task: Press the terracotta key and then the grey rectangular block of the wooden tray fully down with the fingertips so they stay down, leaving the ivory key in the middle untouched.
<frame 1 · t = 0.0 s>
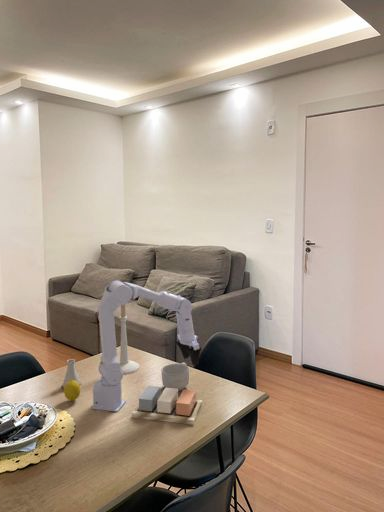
hand: (191, 361, 158), 11 cm above the table, tool pointing down, fingers open, 7 cm apart
flask: (71, 385, 161), on the table
terracotta key: (186, 402, 139), point 4 cm above the table, slide at 0.0 cm
candlestick: (124, 368, 177), on the table
ivory key: (168, 400, 140), point 4 cm above the table, slide at 0.0 cm
lemon: (72, 401, 148), on the table
teacup: (177, 386, 160), on the table
grey rectangular block: (150, 398, 142), point 4 cm above the table, slide at 0.0 cm
wooden tray: (168, 410, 141), on the table
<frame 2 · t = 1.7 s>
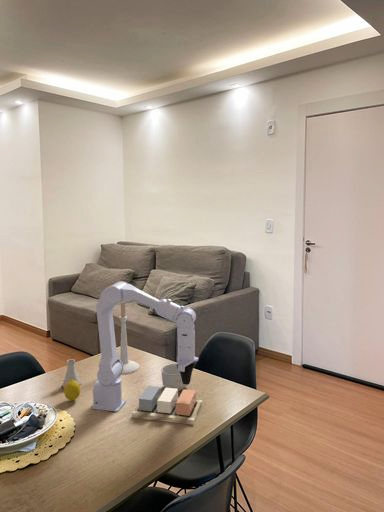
hand: (186, 383, 138), 10 cm above the table, tool pointing down, fingers closed
nothing on the table moved.
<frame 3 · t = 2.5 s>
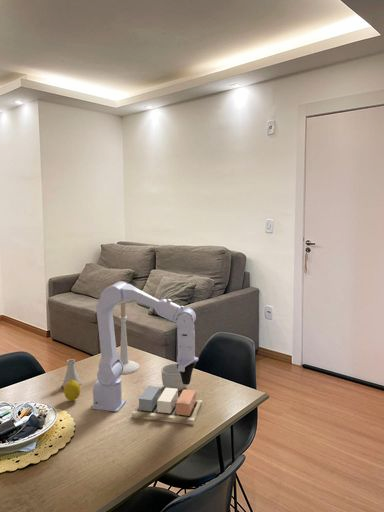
hand: (186, 383, 138), 10 cm above the table, tool pointing down, fingers closed
nothing on the table moved.
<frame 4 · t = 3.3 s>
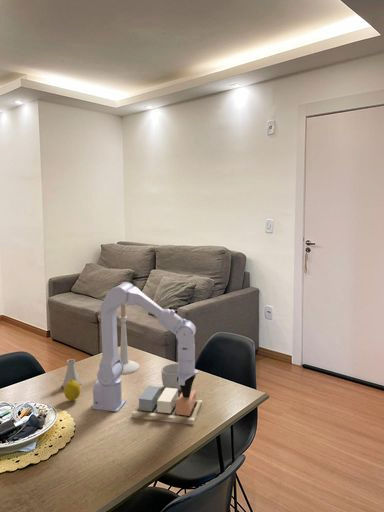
hand: (186, 396, 139), 6 cm above the table, tool pointing down, fingers closed, pressing on terracotta key
terracotta key: (186, 402, 139), point 4 cm above the table, slide at 0.0 cm, touching gripper
everything else where it was.
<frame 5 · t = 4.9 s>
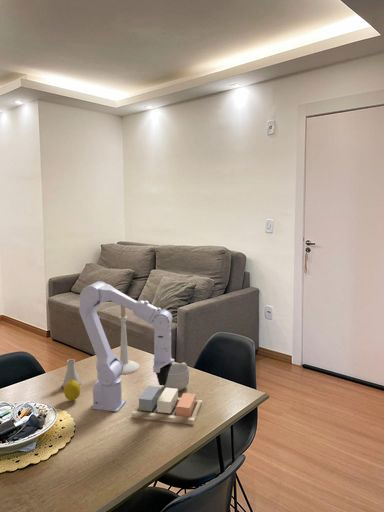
hand: (162, 384, 140), 9 cm above the table, tool pointing down, fingers closed
terracotta key: (186, 405, 139), point 2 cm above the table, slide at 1.3 cm
everything else where it was.
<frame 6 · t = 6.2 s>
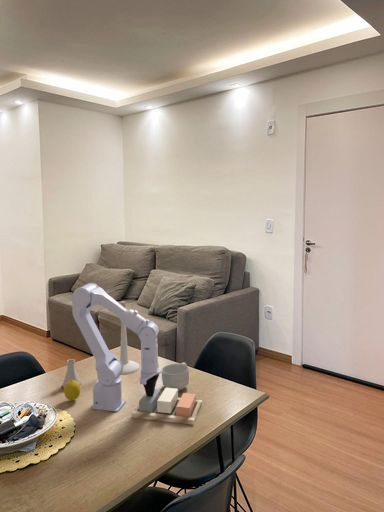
hand: (150, 395, 142), 5 cm above the table, tool pointing down, fingers closed, pressing on grey rectangular block
grey rectangular block: (150, 400, 142), point 3 cm above the table, slide at 1.0 cm, touching gripper
everything else where it was.
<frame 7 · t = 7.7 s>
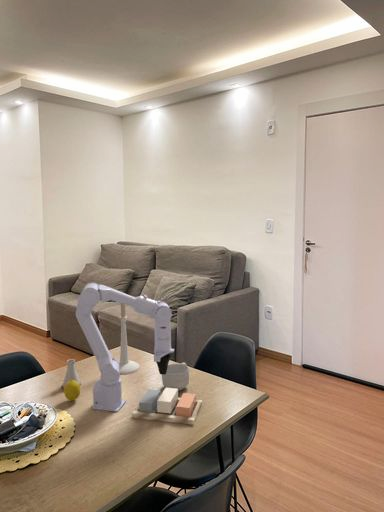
hand: (163, 373, 146), 10 cm above the table, tool pointing down, fingers closed
grey rectangular block: (150, 401, 142), point 2 cm above the table, slide at 1.3 cm
everything else where it was.
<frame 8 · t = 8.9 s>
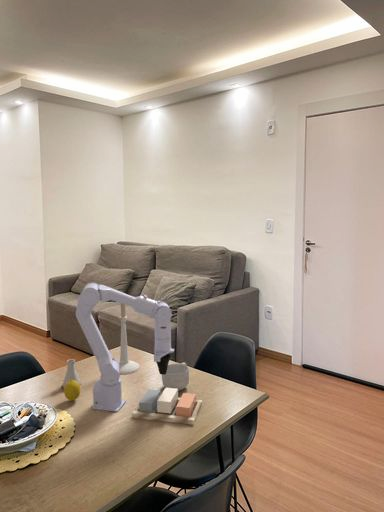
hand: (163, 373, 146), 10 cm above the table, tool pointing down, fingers closed
nothing on the table moved.
at the end: terracotta key slide at 1.3 cm; grey rectangular block slide at 1.3 cm; ivory key slide at 0.0 cm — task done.
